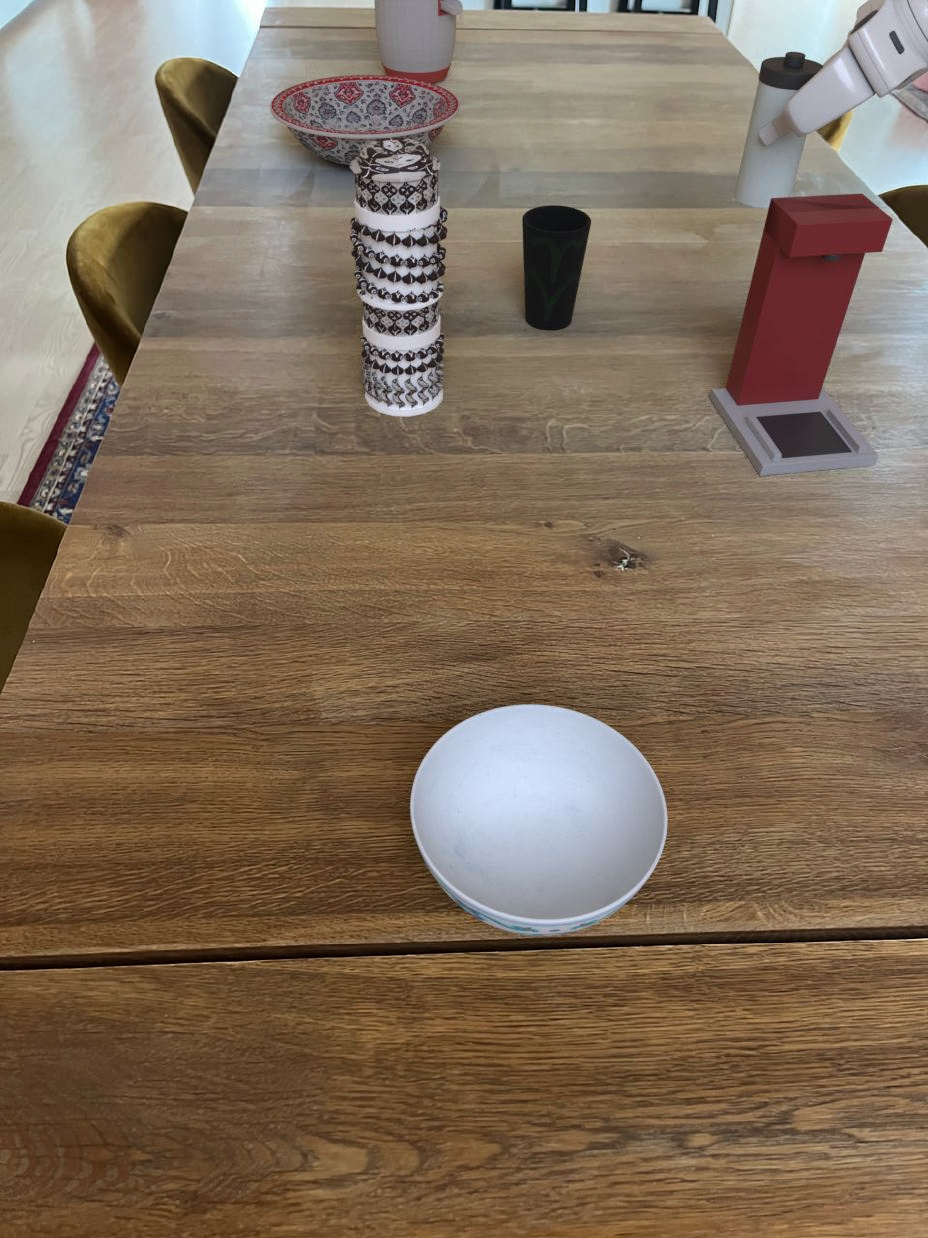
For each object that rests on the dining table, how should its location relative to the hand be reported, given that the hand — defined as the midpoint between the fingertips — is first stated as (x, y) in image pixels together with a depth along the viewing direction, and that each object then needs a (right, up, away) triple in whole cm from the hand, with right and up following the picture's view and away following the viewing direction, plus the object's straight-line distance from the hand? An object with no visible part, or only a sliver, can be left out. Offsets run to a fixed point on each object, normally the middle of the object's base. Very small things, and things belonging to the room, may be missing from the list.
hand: (772, 127), depth 102 cm
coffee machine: (0, -34, -5) cm, 34 cm away
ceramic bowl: (-49, +21, +49) cm, 72 cm away
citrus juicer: (-42, +51, +79) cm, 103 cm away
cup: (-23, -17, +11) cm, 31 cm away
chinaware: (-29, -70, -42) cm, 86 cm away
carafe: (0, -5, +5) cm, 7 cm away
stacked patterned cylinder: (-40, -30, -1) cm, 50 cm away
